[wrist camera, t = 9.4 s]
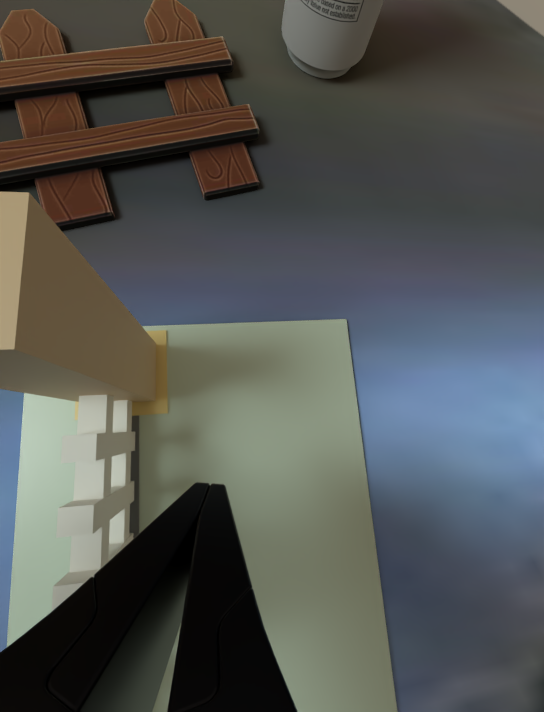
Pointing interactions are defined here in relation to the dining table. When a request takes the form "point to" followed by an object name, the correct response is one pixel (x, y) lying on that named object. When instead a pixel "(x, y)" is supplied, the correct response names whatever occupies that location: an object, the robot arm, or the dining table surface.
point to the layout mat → (241, 495)
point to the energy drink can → (328, 33)
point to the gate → (74, 374)
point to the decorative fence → (128, 140)
